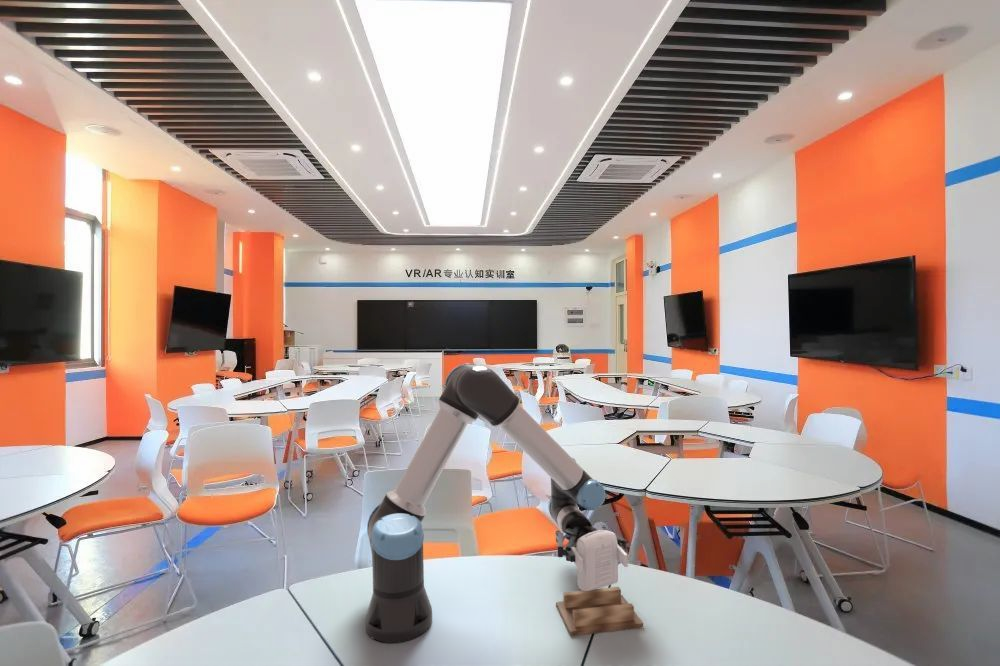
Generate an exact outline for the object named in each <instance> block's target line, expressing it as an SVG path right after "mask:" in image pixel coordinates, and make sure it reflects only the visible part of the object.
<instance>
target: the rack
mask: <svg viewBox="0 0 1000 666" xmlns="http://www.w3.org/2000/svg"><path fill="white" fill-rule="evenodd" d="M562 595H563V601H556V602H555V607H556V609H557V611H558V613H559V615H560V617H561V619H562V622H563V624H564V626H565V627H566V630H567V632H568V635H569V636H570V637H574V636H583V635H592V634H601V633H609V632H610V633H611V632H619V631H626V629H628V630H636V629H643V628H644V622H643V621H642V620H641V618H640V616H639V615H638V614H637V613H636V611H635V606H634V605H633V603H629V602H628V600H627V599H626V598H625V597H624V596H623V595H622V589H621V588H620V587H619V586H614V587H613V586H612V587H601V588H598V589H594V590H590V591H583V590H574V591H567V592H566V591H563V594H562ZM642 627H643V628H642ZM635 628H636V629H635Z"/></svg>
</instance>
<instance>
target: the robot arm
mask: <svg viewBox="0 0 1000 666" xmlns="http://www.w3.org/2000/svg"><path fill="white" fill-rule="evenodd" d="M437 402H438V405H439V410H438V412H437V413H436V416H434V419H433V421H432V423H431V425H430V426H429V428H428V430H427V431H426V434H425V435H424V437H423V439H422V441H421V442H420V444H419V446H418V448H417V449H416V452H415V453H414V455H413V457H412V459H411V460H410V463H409V464H408V466H407V468H406V469H405V471H404V474H403V476H401V479H400V480H399V482H398V484H397V486H396V488H395V489H393V490H390V491H388V492H386V494H385V496H384V497H383V499H382V501H381V502H380V503H379V504H377V505H376V506H375V507H374V508H373V510H372V511H371V513H370V514H369V517H368V520H367V527H366V528H367V529H366V530H367V531H366V532H367V537H368V542H369V546H370V551H371V562H372V595H371V599H370V602H369V605H368V609H367V611H366V612H367V613H366V615H365V630H366V634H367V635H368V634H369V635H370V636H371V637H373V638H374V639H373V638H372V639H373V640H375V639H376V640H375V641H377V640H378V642H380V641H382V643H388V644H389V643H391V644H393V643H394V644H395V643H402V642H406V641H410V640H413V639H416V638H418V637H420V636H421V635H422V634H424V633H425V632H426V631H427V630H428V629H429V628H430V626H431V625H432V622H433V609H432V608H433V607H432V605H431V602H430V599H429V596H428V594H427V593H428V592H427V590H426V588H425V576H424V575H425V573H424V572H425V570H424V539H425V534H424V530H423V524H422V522H423V520H424V518H425V516H426V514H427V511H426V508H425V504H426V502H427V500H428V498H429V496H430V495H431V493H432V491H433V489H434V487H435V485H436V484H437V481H438V480H439V478H440V476H441V474H442V472H443V471H444V468H445V467H446V465H447V463H448V461H449V460H450V458H451V456H452V454H453V452H454V451H455V449H456V447H457V445H458V443H459V441H460V439H461V437H462V436H463V434H464V432H465V430H466V428H467V426H468V425H469V424H470V423H473V422H476V421H477V419H478V417H479V416H480V417H482V418H483V419H485V420H486V421H487V422H488V423H489V424H490V425H491V426H492V427H499V428H500V429H501V431H503V433H505V434H506V435H507V436H508V437H509V438H510V439H511V440H512V441H513V442H514V443H515V444H516V445H517V446H518V447H519V448H520V449H521V450H522V451H523V452H524V453H525V454H526V455H527V456H528V457H530V459H532V461H534V463H536V464H537V466H539V467H540V468H541V469H542V470H543V471H544V472H545V474H547V475H548V477H550V500H549V502H548V506H547V507H548V512H549V515H550V517H551V518H552V519H553V521H554V522H555V523H556V525H557V526H558V528H559V529H558V530H555V542H556V543H557V557H558V558H563V557H564V556H565V561H567V562H571V563H574V565H575V567H576V569H577V568H578V569H579V571H580V572H581V571H583V559H582V557H581V556H580V554H579V553H578V552H577V541H578V539H579V538H580V537H582V536H584V535H585V534H588V533H590V532H593V531H598V530H599V529H597V528H596V527H594V526H593V525H592V523H591V522H590V520H589V518H587V516H586V515H585V514H584V513H583V512H582V510H580V508H579V507H578V505H579V506H580V507H581V508H583V509H585V510H587V511H595V510H598V509H599V508H601V507H602V505H603V504H604V503H605V500H606V489H605V488H604V486H603V485H602V483H600V482H599V481H598V480H596V479H593V478H592V476H590V474H588V472H586V471H585V469H583V467H582V466H581V465H580V464H578V463H577V461H576V459H575V458H574V457H571V455H570V454H569V453H568V452H567V451H566V450H565V449H564V448H563V447H562V446H561V445H560V444H559V443H558V441H555V439H554V438H553V436H552V435H550V434H549V433H548V432H547V431H546V430H545V428H543V427H542V426H541V425H540V424H539V422H537V420H535V419H534V418H533V416H531V414H530V413H528V412H527V411H526V409H524V408H523V407H522V405H521V399H520V398H519V397H518V396H517V394H516V393H515V392H514V391H513V390H512V389H511V388H510V387H509V386H508V384H506V383H505V381H504V380H503V379H502V378H501V377H500V375H498V374H497V373H496V372H495V371H494V370H493V369H491V368H489V367H487V366H483V365H478V364H475V363H464V364H460V365H457V366H456V367H454V368H453V369H452V370H450V372H449V373H448V375H447V377H446V380H445V384H444V389H443V391H442V393H441V395H440V397H439V399H438V401H437ZM600 530H608V531H611V530H609V528H608V527H607V526H602V527H601V529H600ZM615 535H616V537H617V543H618V544H617V545H618V561H619V562H620V563H621V564H622V565H623V568H624V567H625V568H628V567H629V561H628V560H629V559H628V557H629V555H628V553H627V539H625V538H623V537H621V536H620V535H618V534H616V533H615ZM565 539H566V540H567V543H566V545H565V547H564V542H565ZM369 635H368V636H369ZM370 636H369V637H370ZM371 637H370V638H371Z"/></svg>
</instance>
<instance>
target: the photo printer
mask: <svg viewBox="0 0 1000 666" xmlns="http://www.w3.org/2000/svg"><path fill="white" fill-rule="evenodd" d="M597 530H598V531H593V532H590V533H588V534H585V535H584V536H582V537H580V538H579V539H578V541H577V547H576V550H577V552H578V553H579V554H580V556H581V557H582V559H583V571H581V572H580V571H579V569H578V568H577V567H576V578H577V579H576V580H577V585H578V589H580V591H582V590H583V591H590V590H594V589H601V588H605V587H607V586H611V585H614V584H617V583H619V562H618V561H619V560H618V545H617V544H618V543H617V537H616V535H615V534H616V533H615V532H613V531H611V530H610V531H608V530H609V529H608V530H601V529H597Z"/></svg>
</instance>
